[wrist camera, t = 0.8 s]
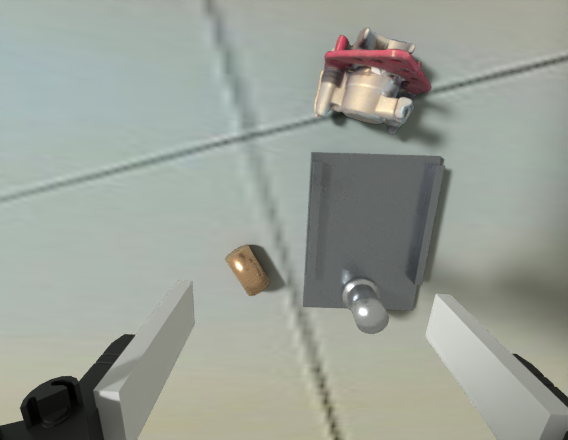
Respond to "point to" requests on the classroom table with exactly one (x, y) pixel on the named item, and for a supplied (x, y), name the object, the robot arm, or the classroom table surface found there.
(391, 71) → the brake caliper
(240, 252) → the golden brown rounded block
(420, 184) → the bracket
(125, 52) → the classroom table surface
